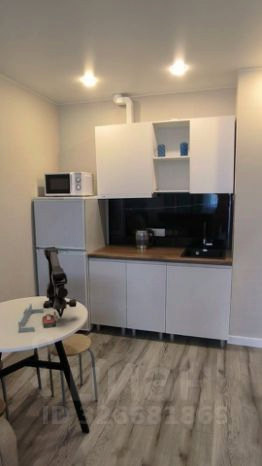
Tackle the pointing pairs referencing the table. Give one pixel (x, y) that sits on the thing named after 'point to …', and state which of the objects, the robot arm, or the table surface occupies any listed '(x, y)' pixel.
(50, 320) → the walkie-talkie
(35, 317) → the table surface
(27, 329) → the mounting bracket
